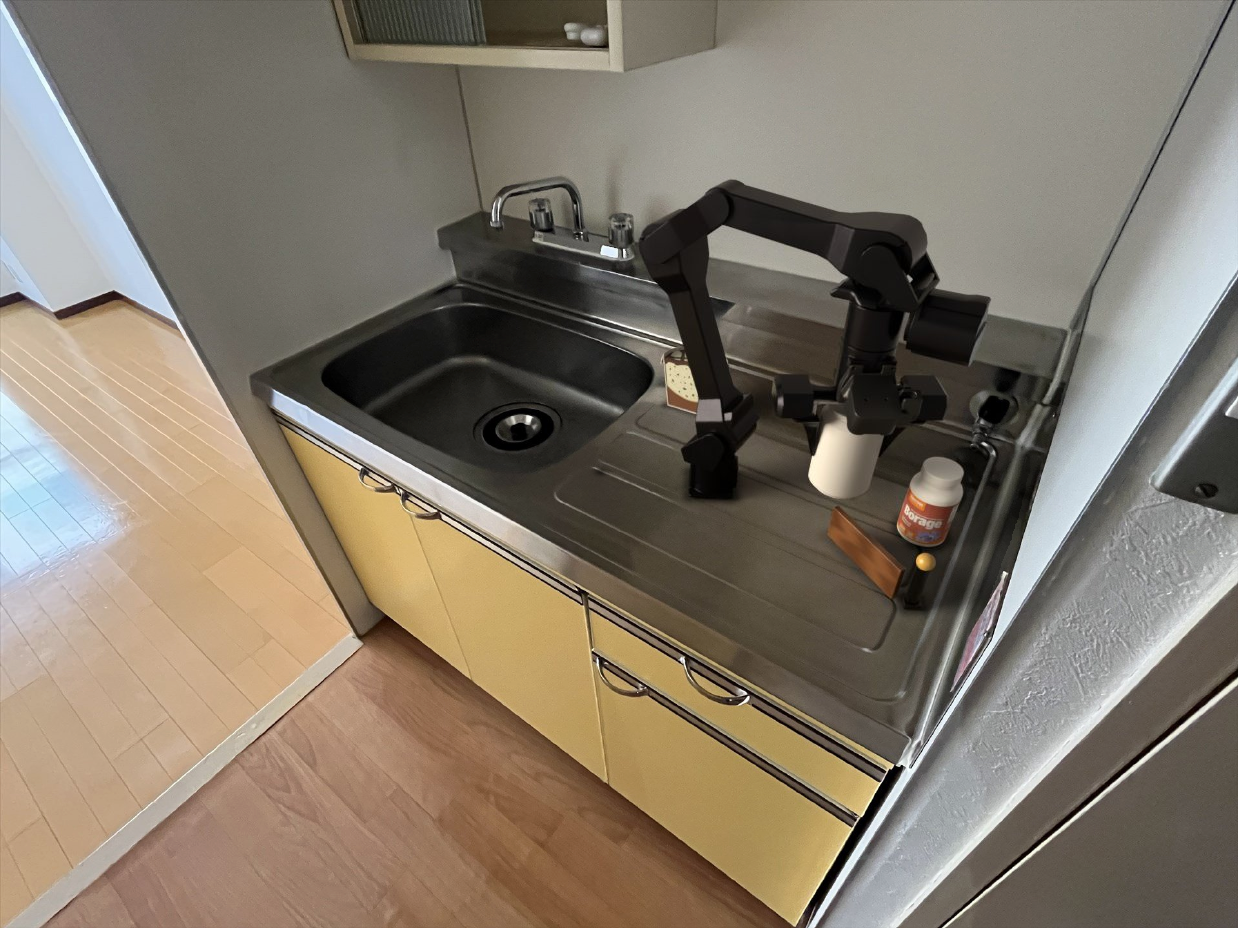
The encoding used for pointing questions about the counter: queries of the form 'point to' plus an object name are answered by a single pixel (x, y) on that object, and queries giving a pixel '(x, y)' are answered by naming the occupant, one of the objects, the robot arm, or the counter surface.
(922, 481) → the pill bottle
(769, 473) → the counter surface
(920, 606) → the yellow topped black post
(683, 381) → the food container
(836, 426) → the can
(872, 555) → the door
